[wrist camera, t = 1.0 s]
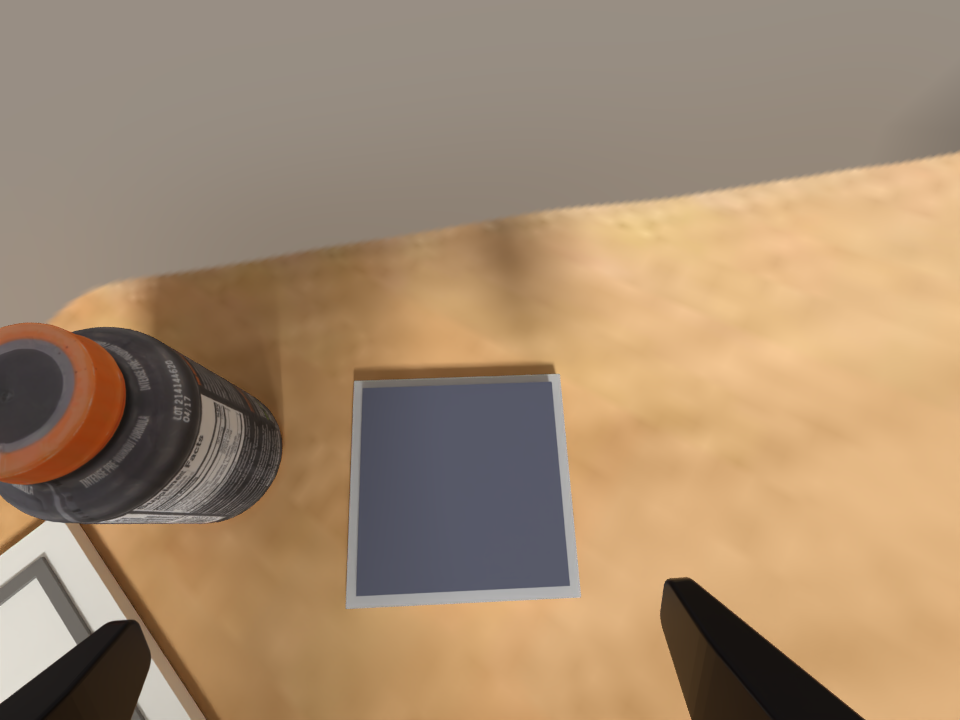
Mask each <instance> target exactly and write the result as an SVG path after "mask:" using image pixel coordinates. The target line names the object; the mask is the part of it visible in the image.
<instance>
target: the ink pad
mask: <svg viewBox="0 0 960 720" xmlns="http://www.w3.org/2000/svg"><path fill="white" fill-rule="evenodd" d="M577 597H581V592H580V581H579V571H578V560H577V550H576V540H575V529H574V519H573V508H572V498H571V487H570V477H569V466H568V456H567V445H566V435H565V424H564V414H563V403H562V393H561V382H560V374H543V375H513V376H484V377H454V378H424V379H395V380H365V381H354V398H353V425H352V452H351V480H350V507H349V534H348V561H347V588H346V609H355V608H375V607H395V606H415V605H435V604H455V603H476V602H496V601H516V600H536V599H556V598H577Z"/></svg>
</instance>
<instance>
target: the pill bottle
mask: <svg viewBox="0 0 960 720" xmlns="http://www.w3.org/2000/svg"><path fill="white" fill-rule="evenodd" d="M281 455H282V438H281V434H280V429H279V426H278V424H277V422H276V420H275V418H274V416H273V415H272V413H271V412H270V410H269V409H268V408H267V407H266V406H265V405H264V404H262V403H261V402H260V401H259V400H258V399H256V398H255V397H253V396H251V395H250V394H248V393H247V392H245V391H243V390H242V389H240V388H238V387H237V386H235V385H233V384H232V383H230V382H228V381H227V380H225V379H224V378H222V377H220V376H218V375H216V374H215V373H213V372H211V371H209V370H208V369H206V368H204V367H203V366H201V365H200V364H198V363H196V362H194V361H193V360H191V359H189V358H187V357H186V356H184V355H182V354H181V353H179V352H177V351H176V350H174V349H172V348H170V347H169V346H167V345H165V344H164V343H162V342H160V341H159V340H157V339H155V338H153V337H151V336H149V335H146V334H144V333H141V332H138V331H134V330H131V329H124V328H117V327H96V328H89V329H83V330H78V331H74V332H69V331H67V330H64V329H62V328H59V327H56V326H53V325H48V324H42V323H19V324H14V325H9V326H5V327H2V328H0V495H1V496H2V497H3V498H4V499H5V500H6V501H7V502H8V503H10V504H11V505H13V506H14V507H16V508H17V509H19V510H20V511H22V512H24V513H26V514H28V515H31V516H33V517H36V518H39V519H42V520H46V521H51V522H61V523H81V524H174V523H179V524H203V523H213V522H220V521H224V520H228V519H230V518H232V517H235V516H237V515H239V514H241V513H243V512H244V511H246V510H247V509H249V508H250V507H251V506H253V505H254V504H255V503H256V502H257V501H258V500H259V499H260V498H261V497H262V496H263V495H264V494H265V492H266V491H267V489H268V488H269V487H270V485H271V484H272V482H273V480H274V479H275V477H276V474H277V472H278V469H279V465H280V462H281Z"/></svg>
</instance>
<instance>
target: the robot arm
mask: <svg viewBox="0 0 960 720" xmlns="http://www.w3.org/2000/svg"><path fill="white" fill-rule="evenodd" d="M660 619H661V625H662V628H663V632H664V635H665V638H666V641H667V644H668V647H669V651H670V654H671V657H672V660H673V663H674V667H675V670H676V673H677V676H678V679H679V682H680V686H681V689H682V692H683V695H684V698H685V701H686V705H687V708H688V711H689V714H690V717H691V719H692V720H865V719H864V718H863V717H861V716H860V715H859V714H858V713H856V712H855V711H854V710H853V709H851V708H850V707H849V706H848V705H846V704H845V703H844V702H843V701H842V700H840V699H839V698H838V697H837V696H835V695H834V694H833V693H832V692H830V691H829V690H828V689H827V688H826V687H824V686H823V685H822V684H821V683H819V682H818V681H817V680H816V679H814V678H813V677H812V676H811V675H810V674H808V673H807V672H806V671H805V670H803V669H802V668H801V667H800V666H798V665H797V664H796V663H795V662H794V661H792V660H791V659H790V658H789V657H787V656H786V655H785V654H784V653H782V652H781V651H780V650H779V649H778V648H776V647H775V646H774V645H773V644H771V643H770V642H769V641H768V640H766V639H765V638H764V637H763V636H762V635H760V634H759V633H758V632H757V631H755V630H754V629H753V628H752V627H750V626H749V625H748V624H747V623H746V622H744V621H743V620H742V619H741V618H739V617H738V616H737V615H736V614H734V613H733V612H732V611H731V610H730V609H728V608H727V607H726V606H725V605H723V604H722V603H721V602H720V601H718V600H717V599H716V598H715V597H713V596H712V595H711V594H710V593H709V592H707V591H706V590H705V589H704V588H702V587H701V586H700V585H699V584H697V583H696V582H695V581H694V580H692V579H690V578H687V577H683V578H670V579H667V580H666V581H665V584H664V589H663V596H662V603H661V610H660ZM150 664H151V652H150V649H149V646H148V644H147V641H146V639H145V636H144V634H143V631H142V629H141V626H140V624H139V623H138V622H137V621H136V620H133V619H128V620H115V621H110V622H108V623H106V624H104V625H103V626H101V627H100V628H99V629H97V630H96V631H95V632H93V633H92V634H91V635H89V636H88V637H87V638H85V639H84V640H83V641H82V642H80V643H79V644H78V645H76V646H75V647H74V648H72V649H71V650H70V651H68V652H67V653H66V654H65V655H63V656H62V657H61V658H59V659H58V660H57V661H55V662H54V663H53V664H51V665H50V666H49V667H47V668H46V669H45V670H44V671H42V672H41V673H40V674H38V675H37V676H36V677H34V678H33V679H32V680H30V681H29V682H28V683H26V684H25V685H24V686H23V687H21V688H20V689H19V690H17V691H16V692H15V693H13V694H12V695H11V696H9V697H8V698H7V699H6V700H4V701H3V702H2V703H0V720H131V718H132V715H133V713H134V710H135V707H136V704H137V702H138V699H139V696H140V693H141V691H142V688H143V685H144V683H145V680H146V677H147V674H148V672H149V668H150Z"/></svg>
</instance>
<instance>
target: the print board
mask: <svg viewBox="0 0 960 720" xmlns="http://www.w3.org/2000/svg"><path fill="white" fill-rule="evenodd" d="M128 619H133V620H136V621H137V622H138V623H139V624H140V626H141V629H142V631H143V634H144V636H145V639H146V641H147V644H148V646H149V649H150V652H151V664H150V668H149V672H148V674H147V677H146V680H145V683H144V685H143V688H142V691H141V693H140V696H139V699H138V702H137V704H136V707H135V710H134V713H133V715H132V718H131V720H206V719H205V717H204V715H203V714H202V712H201V711H200V709H199V708H198V706H197V705H196V703H195V702H194V700H193V698H192V697H191V695H190V694H189V692H188V691H187V689H186V688H185V686H184V685H183V683H182V682H181V680H180V678H179V677H178V675H177V674H176V672H175V671H174V669H173V668H172V666H171V665H170V663H169V661H168V660H167V658H166V657H165V655H164V654H163V652H162V651H161V649H160V648H159V646H158V645H157V643H156V641H155V640H154V638H153V637H152V635H151V634H150V632H149V631H148V629H147V628H146V626H145V624H144V623H143V621H142V620H141V618H140V617H139V615H138V614H137V612H136V611H135V609H134V607H133V606H132V604H131V603H130V601H129V600H128V598H127V597H126V595H125V594H124V592H123V591H122V589H121V587H120V586H119V584H118V583H117V581H116V580H115V578H114V577H113V575H112V574H111V572H110V570H109V569H108V567H107V566H106V564H105V563H104V561H103V560H102V558H101V557H100V555H99V554H98V552H97V550H96V549H95V547H94V546H93V544H92V543H91V541H90V540H89V538H88V537H87V535H86V533H85V532H84V530H83V529H82V527H81V526H80V524H79V523H61V522H51V521H45V522H44V523H43V524H41V525H40V526H39V527H37V528H36V529H35V530H33V531H32V532H31V533H29V534H28V535H27V536H25V537H24V538H23V539H22V540H20V541H19V542H18V543H16V544H15V545H14V546H12V547H11V548H10V549H8V550H7V551H6V552H4V553H3V554H2V555H0V703H2V702H3V701H4V700H6V699H7V698H8V697H9V696H11V695H12V694H13V693H15V692H16V691H17V690H19V689H20V688H21V687H23V686H24V685H25V684H26V683H28V682H29V681H30V680H32V679H33V678H34V677H36V676H37V675H38V674H40V673H41V672H42V671H44V670H45V669H46V668H47V667H49V666H50V665H51V664H53V663H54V662H55V661H57V660H58V659H59V658H61V657H62V656H63V655H65V654H66V653H67V652H68V651H70V650H71V649H72V648H74V647H75V646H76V645H78V644H79V643H80V642H82V641H83V640H84V639H85V638H87V637H88V636H89V635H91V634H92V633H93V632H95V631H96V630H97V629H99V628H100V627H101V626H103V625H104V624H106V623H108V622H110V621H115V620H128Z"/></svg>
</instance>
